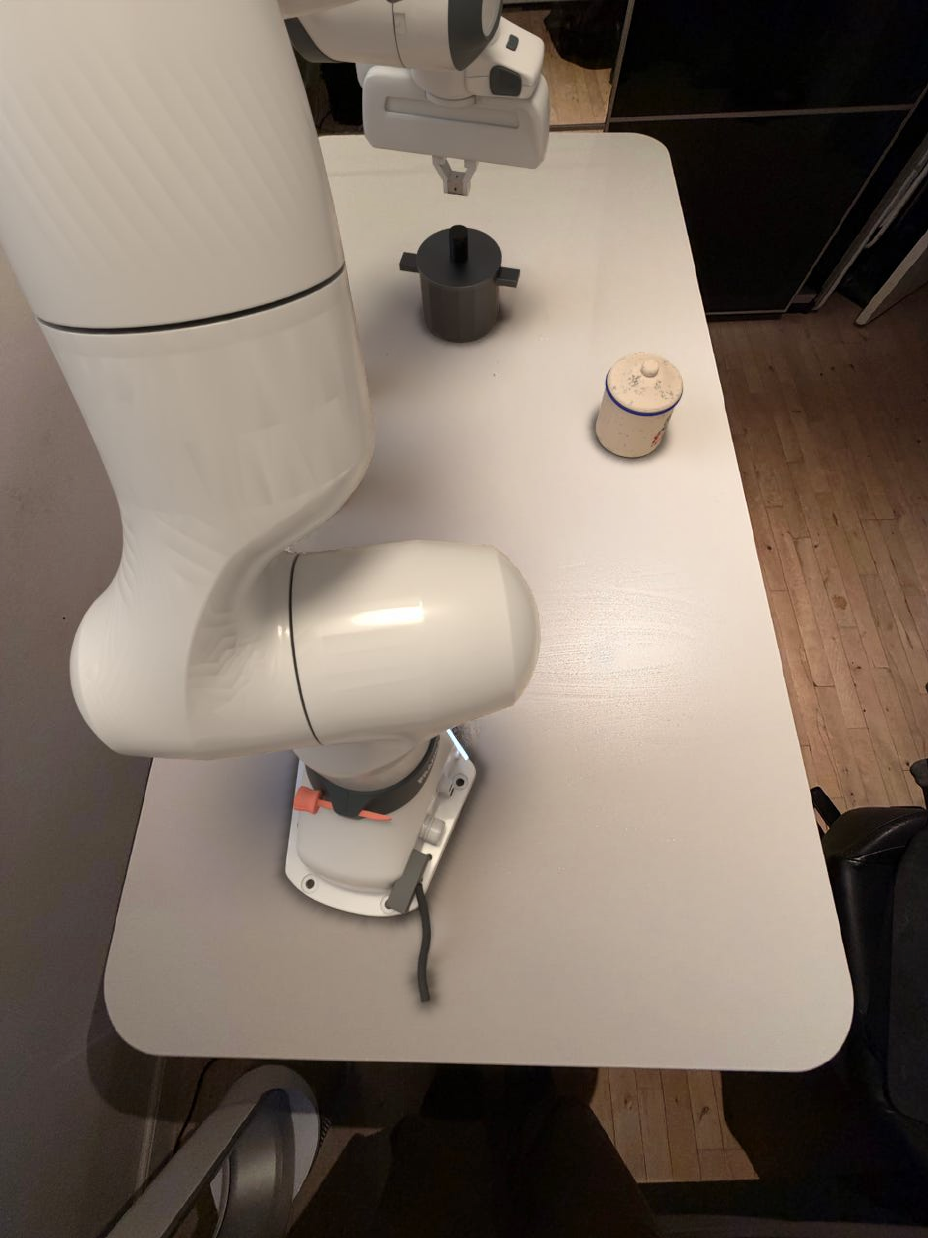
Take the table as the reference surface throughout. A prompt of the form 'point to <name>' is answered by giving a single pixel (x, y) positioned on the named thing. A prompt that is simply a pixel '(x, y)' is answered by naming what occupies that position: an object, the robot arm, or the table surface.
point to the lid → (459, 259)
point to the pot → (461, 304)
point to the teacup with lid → (638, 404)
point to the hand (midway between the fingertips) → (457, 191)
